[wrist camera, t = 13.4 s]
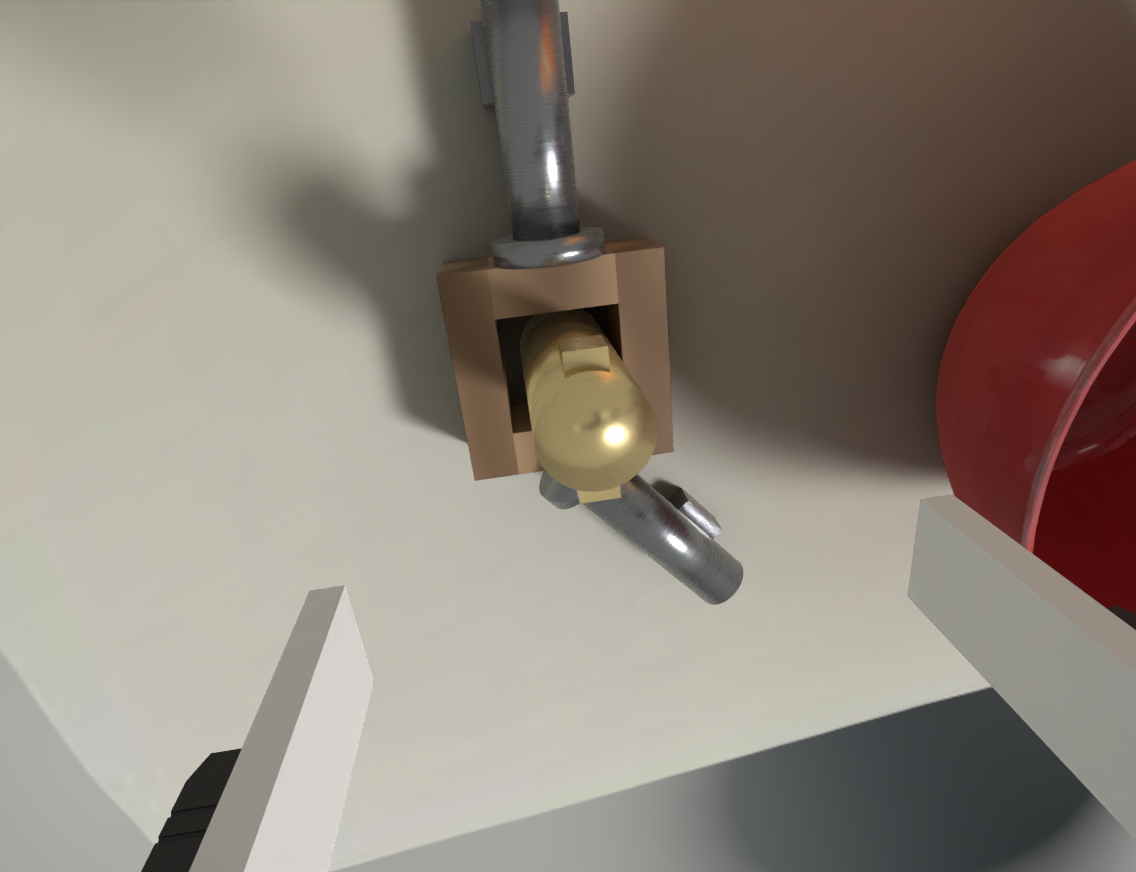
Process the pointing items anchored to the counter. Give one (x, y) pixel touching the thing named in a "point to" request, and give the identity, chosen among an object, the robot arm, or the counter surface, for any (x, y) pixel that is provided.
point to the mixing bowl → (1053, 391)
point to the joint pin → (584, 406)
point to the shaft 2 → (664, 533)
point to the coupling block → (491, 293)
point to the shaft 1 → (533, 132)
